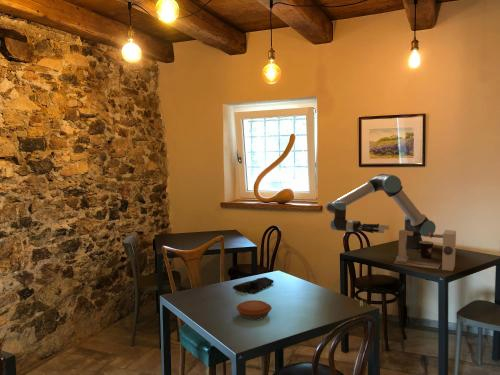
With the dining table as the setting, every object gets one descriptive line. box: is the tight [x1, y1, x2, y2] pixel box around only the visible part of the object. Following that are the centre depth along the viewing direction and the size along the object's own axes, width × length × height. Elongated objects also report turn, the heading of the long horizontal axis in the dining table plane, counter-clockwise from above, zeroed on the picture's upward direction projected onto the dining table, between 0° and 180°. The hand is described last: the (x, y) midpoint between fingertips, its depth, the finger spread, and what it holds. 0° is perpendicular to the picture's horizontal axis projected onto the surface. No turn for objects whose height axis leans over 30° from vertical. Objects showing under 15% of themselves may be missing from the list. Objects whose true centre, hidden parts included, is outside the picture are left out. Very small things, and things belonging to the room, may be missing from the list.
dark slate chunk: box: [232, 276, 275, 295], centre depth 231 cm, size 15×22×5 cm
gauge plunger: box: [429, 233, 443, 239], centre depth 266 cm, size 3×10×3 cm, turn 60°
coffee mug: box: [415, 240, 434, 260], centre depth 290 cm, size 12×9×10 cm
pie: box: [235, 299, 273, 320], centre depth 192 cm, size 15×16×5 cm
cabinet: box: [441, 229, 457, 272], centre depth 263 cm, size 13×6×22 cm, turn 150°
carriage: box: [395, 229, 413, 262], centre depth 276 cm, size 7×9×19 cm
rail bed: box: [393, 259, 442, 270], centre depth 273 cm, size 11×26×1 cm, turn 60°
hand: (386, 229), depth 281 cm, fingers open, 13 cm apart
